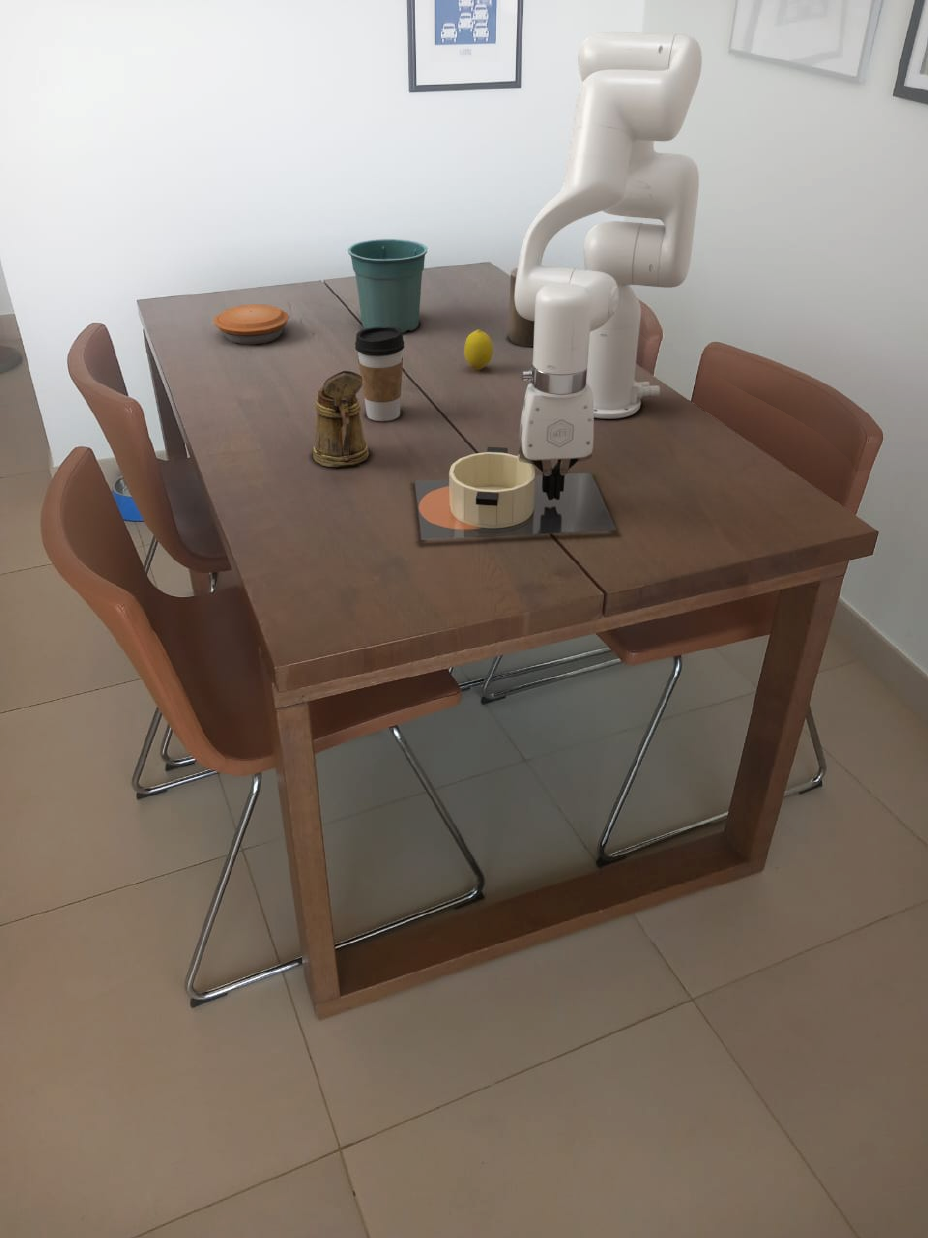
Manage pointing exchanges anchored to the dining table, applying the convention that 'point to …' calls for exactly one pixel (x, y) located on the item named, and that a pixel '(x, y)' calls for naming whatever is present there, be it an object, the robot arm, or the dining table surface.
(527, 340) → the pillar candle
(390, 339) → the coffee cup
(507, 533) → the cooktop
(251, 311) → the pie
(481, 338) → the lemon
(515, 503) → the pot
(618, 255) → the robot arm
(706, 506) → the dining table surface
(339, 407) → the wooden mug
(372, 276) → the flower pot
